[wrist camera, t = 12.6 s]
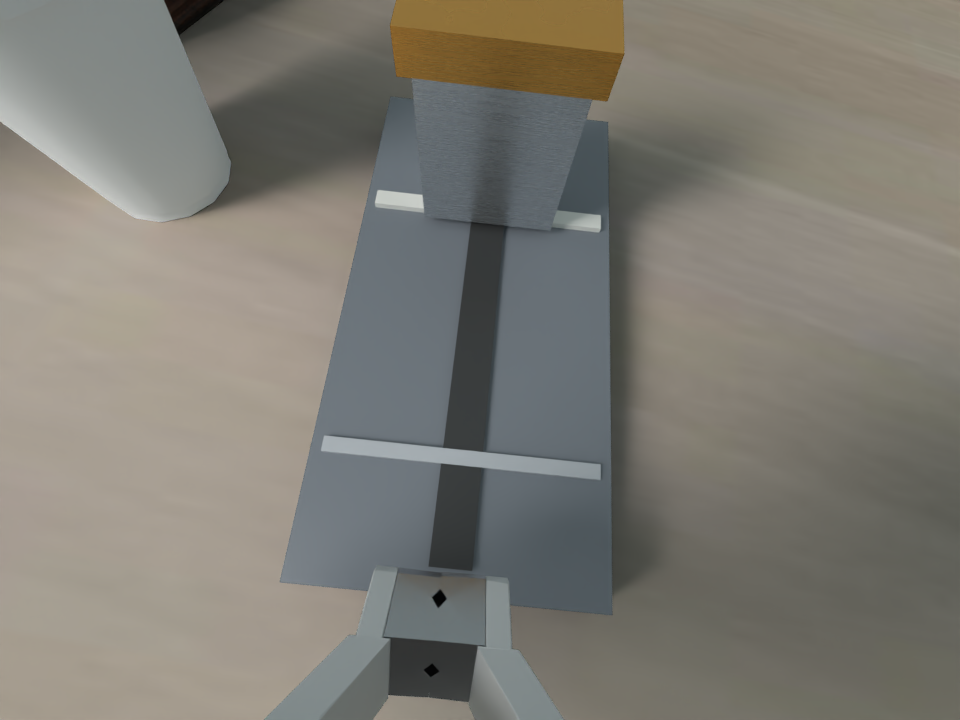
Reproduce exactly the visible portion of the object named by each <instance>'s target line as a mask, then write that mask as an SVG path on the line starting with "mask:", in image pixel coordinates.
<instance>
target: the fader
mask: <svg viewBox="0 0 960 720" xmlns="http://www.w3.org/2000/svg"><path fill="white" fill-rule="evenodd" d="M390 30H391V38H392V46H393V54H394V62H395V69H396V76H397V77H405V78H412V88H413V99H414V110H415V120H416V131H417V142H418V152H419V163H420V173H421V184H422V195H423V205H424V216H425V217H433V218H442V219H450V220H459V221H468V222H477V223H486V224H494V225H503V226H512V227H521V228H530V229H539V230H547V231H550V230H551V227H552V224H553V220H554V217H555V214H556V211H557V208H558V205H559V202H560V199H561V196H562V192H563V189H564V186H565V183H566V180H567V177H568V174H569V171H570V168H571V164H572V161H573V158H574V155H575V152H576V149H577V146H578V143H579V140H580V137H581V133H582V130H583V127H584V124H585V121H586V118H587V115H588V112H589V109H590V105H591V102H592V100H600V101H608V98H609V95H610V93H611V90H612V87H613V84H614V81H615V79H616V76H617V73H618V70H619V67H620V65H621V62H622V59H623V56H624V22H623V0H396V3H395V7H394V11H393V15H392V19H391V23H390Z"/></svg>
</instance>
